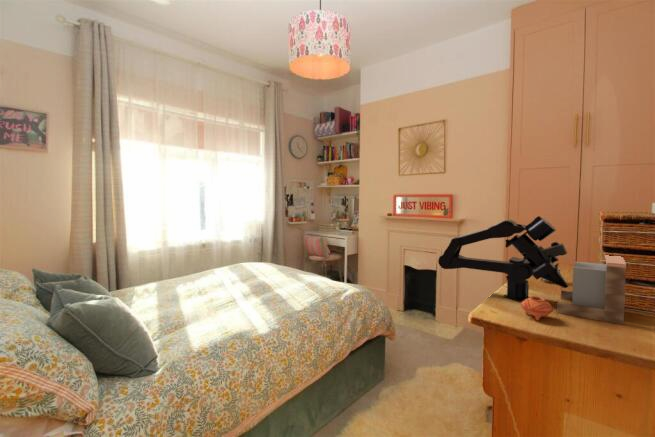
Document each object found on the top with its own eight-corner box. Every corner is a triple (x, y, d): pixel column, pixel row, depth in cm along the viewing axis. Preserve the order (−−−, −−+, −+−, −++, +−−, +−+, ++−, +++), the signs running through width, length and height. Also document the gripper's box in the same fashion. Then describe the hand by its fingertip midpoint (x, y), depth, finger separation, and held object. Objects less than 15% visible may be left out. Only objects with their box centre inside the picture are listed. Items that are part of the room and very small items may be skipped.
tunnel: (557, 312, 97) (558, 258, 96) (561, 297, 111) (562, 250, 110) (623, 324, 88) (626, 264, 87) (619, 306, 102) (621, 254, 100)
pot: (538, 310, 99) (543, 291, 97) (556, 326, 91) (561, 306, 89) (513, 310, 99) (517, 291, 97) (528, 326, 91) (533, 305, 89)
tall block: (571, 312, 98) (573, 267, 97) (573, 302, 106) (574, 261, 105) (610, 318, 92) (612, 271, 91) (609, 308, 100) (611, 264, 100)
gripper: (547, 237, 97) (590, 279, 91) (552, 231, 112) (591, 267, 106) (516, 259, 103) (555, 299, 97) (525, 251, 117) (560, 285, 111)
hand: (566, 287), depth 103 cm, fingers closed
